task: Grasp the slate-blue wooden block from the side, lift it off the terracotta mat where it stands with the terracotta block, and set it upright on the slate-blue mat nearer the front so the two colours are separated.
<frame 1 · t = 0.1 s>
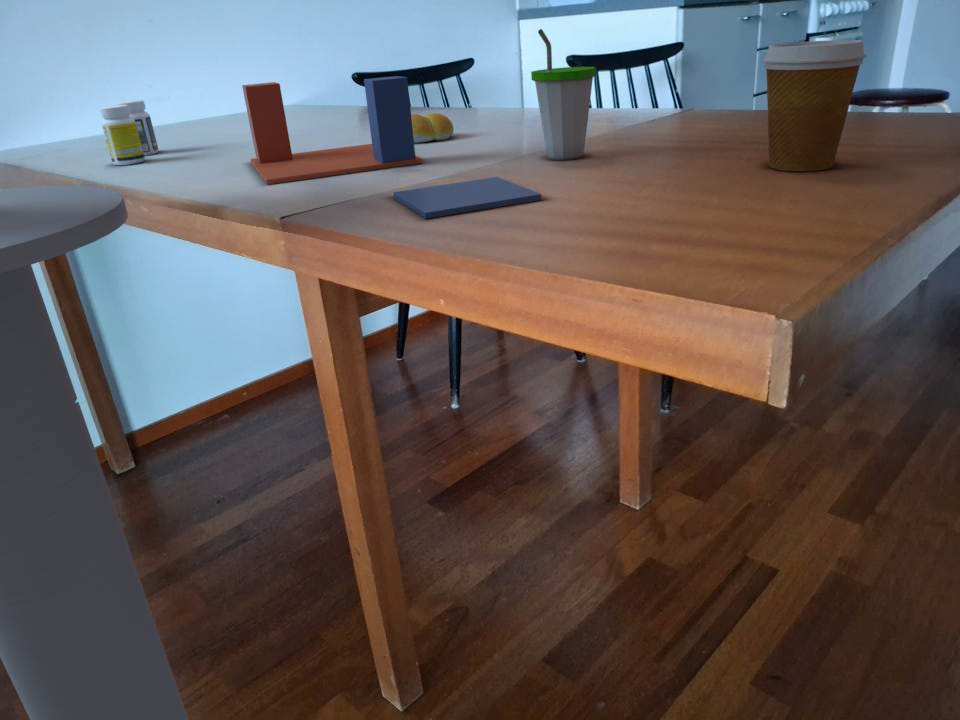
cup: (565, 158, 92), on the table
bread roll: (424, 140, 114), on the table
blue mat: (464, 198, 74), on the table
blue block: (394, 158, 96), point 1 cm above the table, touching red mat
disposable coffee cup: (800, 167, 77), on the table
supplement bottle: (129, 164, 113), on the table
red block: (274, 159, 102), point 1 cm above the table, touching red mat
pill bottle: (144, 155, 122), on the table
red mat: (332, 163, 100), on the table
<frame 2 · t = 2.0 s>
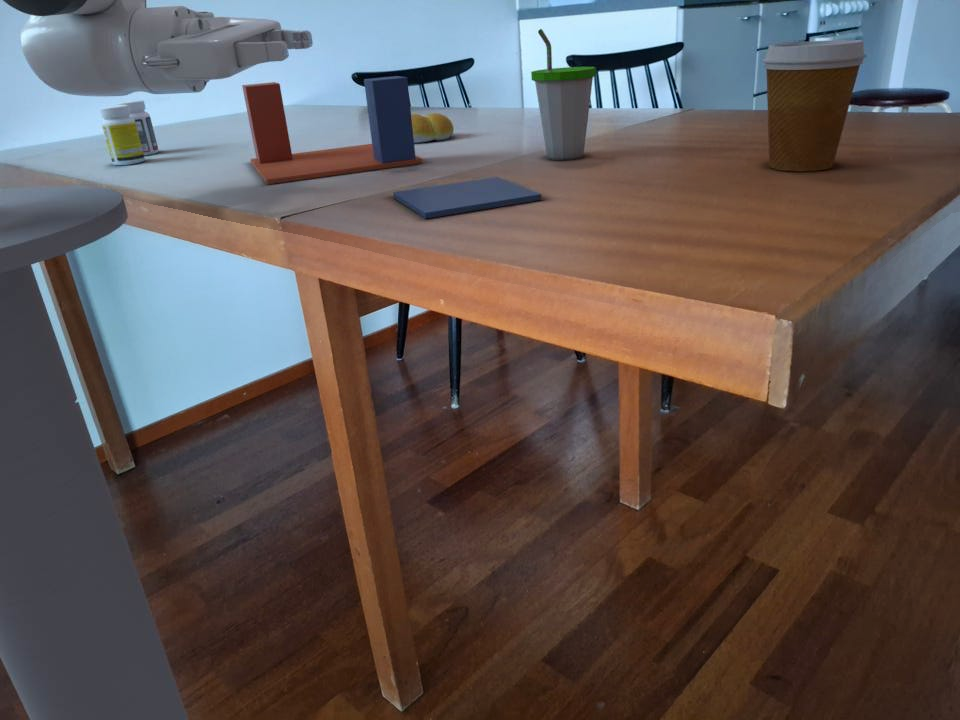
hand: (298, 44, 79), 15 cm above the table, tool horizontal, fingers open, 8 cm apart
nothing on the table moved.
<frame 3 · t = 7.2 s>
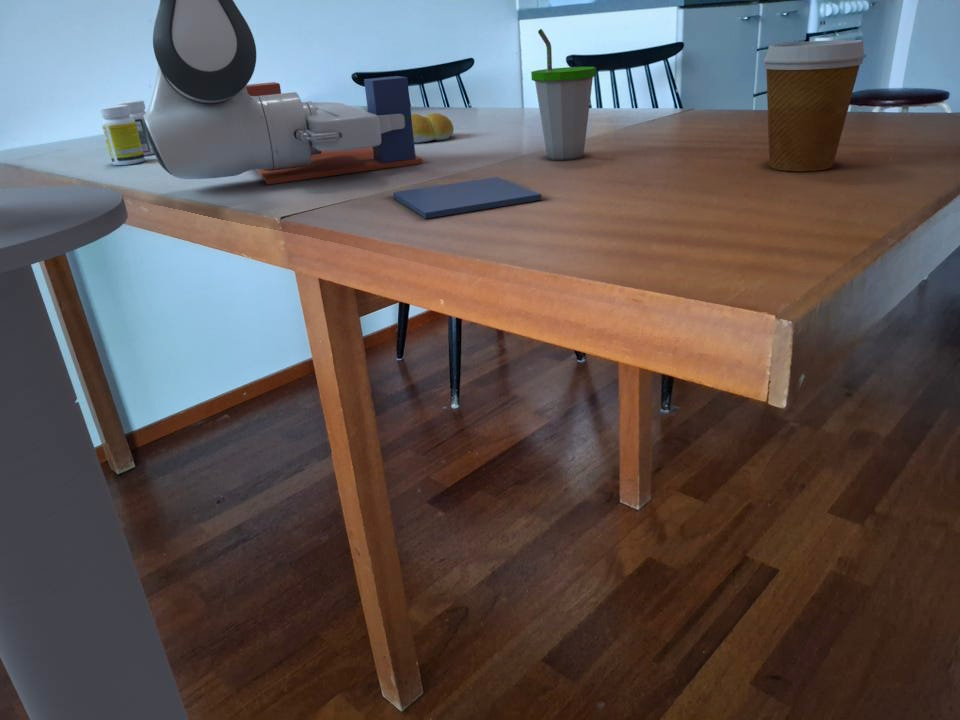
hand: (396, 118, 94), 6 cm above the table, tool horizontal, fingers closed on blue block, 4 cm apart
blue block: (394, 159, 96), point 1 cm above the table, touching gripper, red mat
everything else where it was.
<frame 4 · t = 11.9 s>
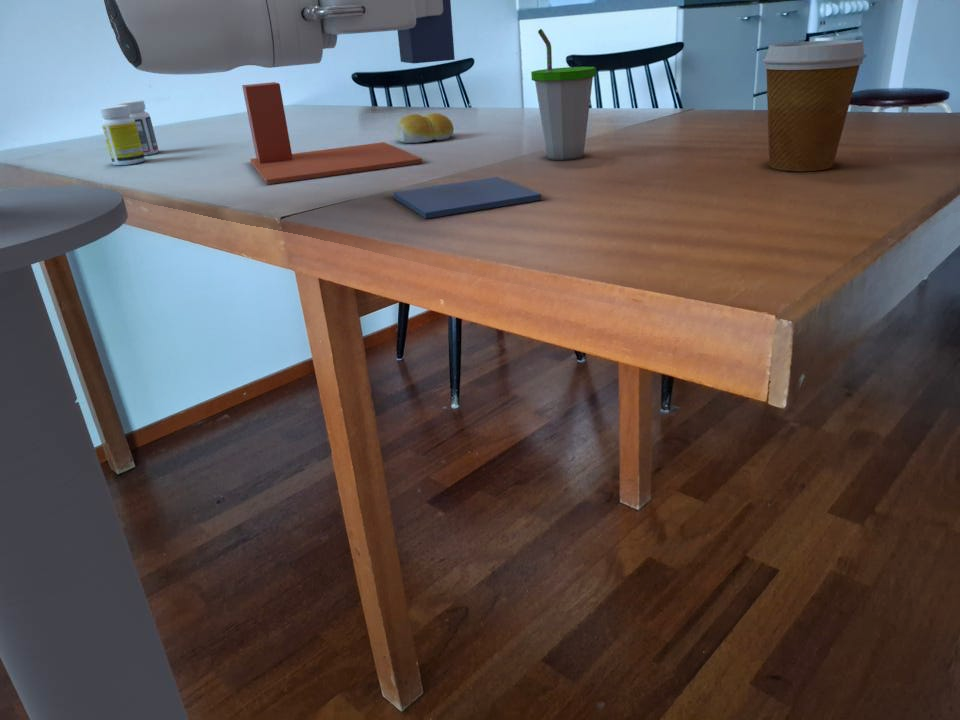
hand: (431, 5, 73), 18 cm above the table, tool horizontal, fingers closed on blue block, 4 cm apart
blue block: (427, 60, 75), point 13 cm above the table, touching gripper
everything else where it was.
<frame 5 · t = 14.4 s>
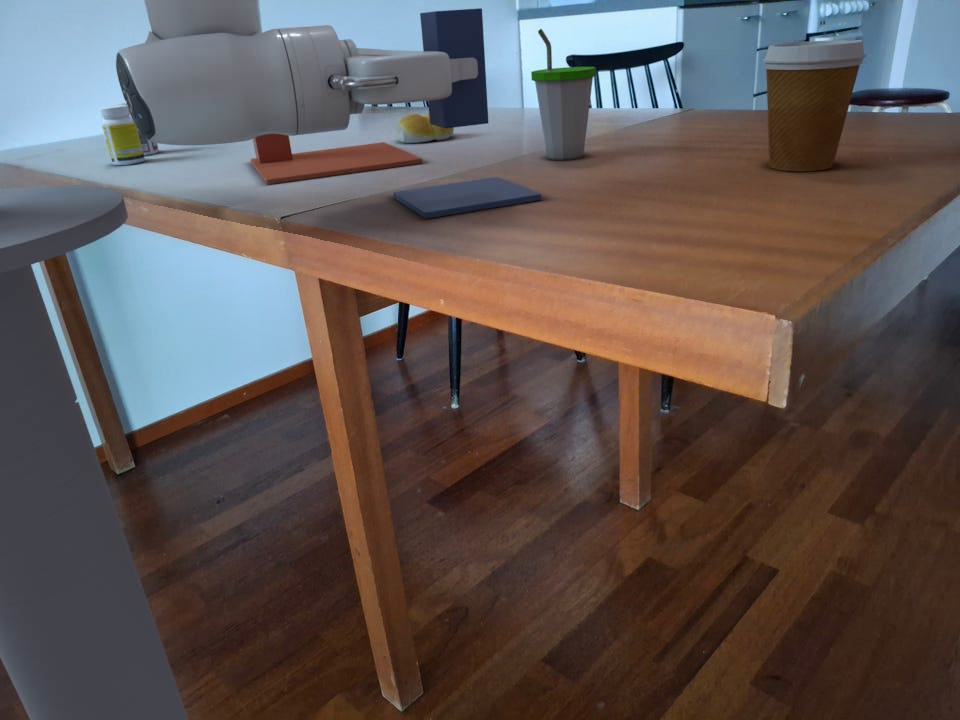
hand: (463, 66, 69), 12 cm above the table, tool horizontal, fingers closed on blue block, 4 cm apart
blue block: (458, 123, 71), point 7 cm above the table, touching gripper
everything else where it was.
when the fingers open (6 cm above the table, at t = 16.6 s): blue block stays where it is, resting on blue mat.
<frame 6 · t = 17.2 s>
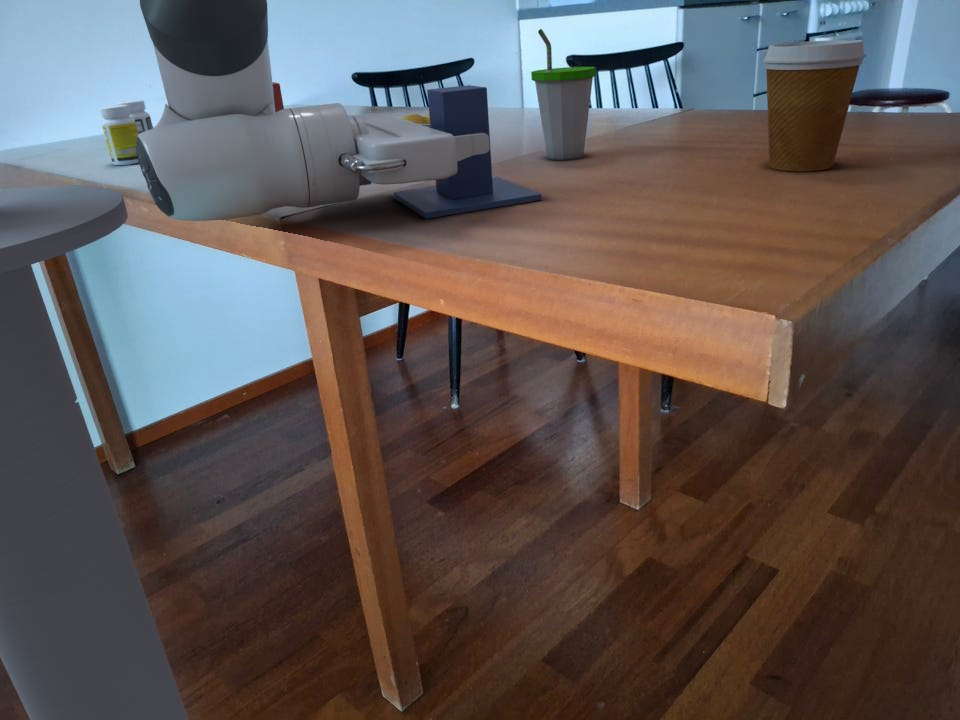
hand: (468, 136, 71), 6 cm above the table, tool horizontal, fingers open, 8 cm apart
blue block: (464, 192, 74), point 1 cm above the table, touching blue mat
everything else where it was.
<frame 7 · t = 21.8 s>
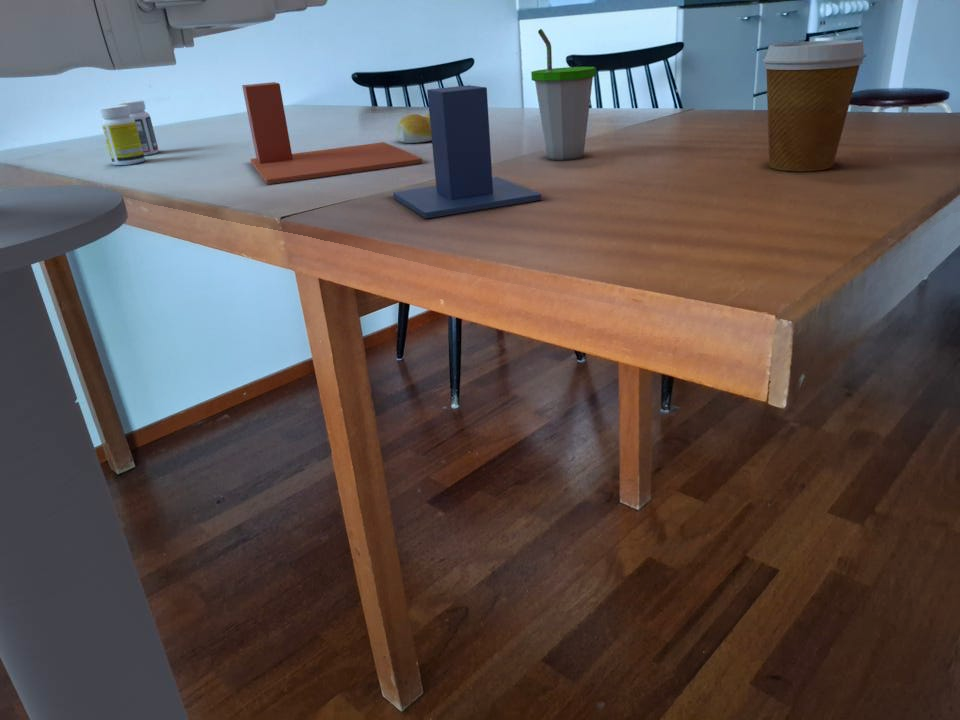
nothing on the table moved.
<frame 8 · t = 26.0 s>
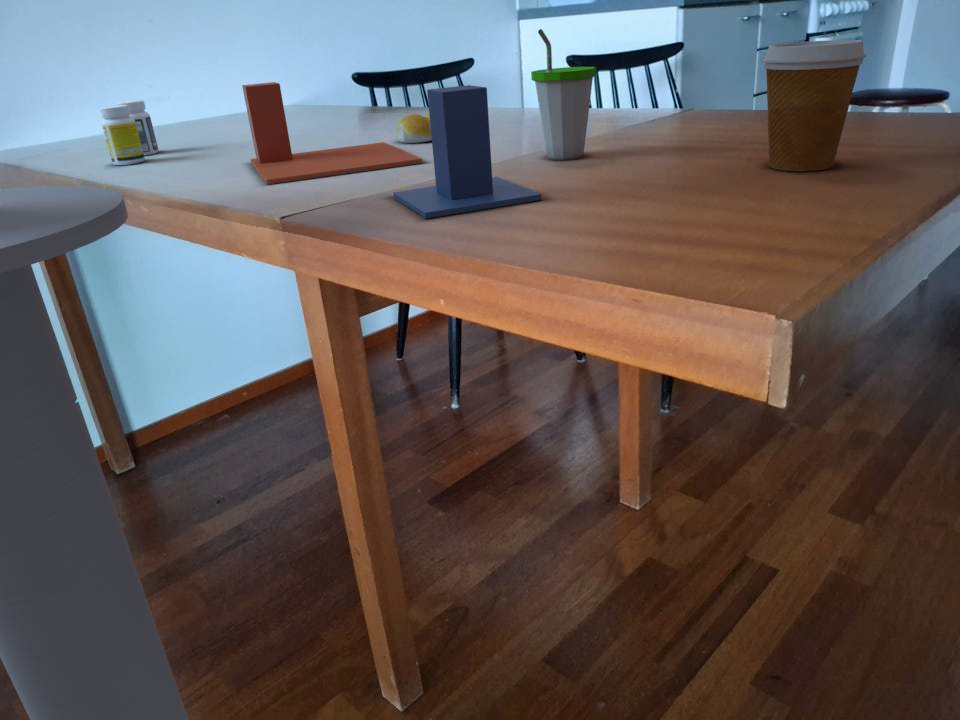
nothing on the table moved.
at the end: blue block inside the target area on the blue mat (0.1 cm from its centre), point 0.6 cm above the blue mat's base; blue block tilted 0°; red block inside the target area on the red mat (9.2 cm from its centre), point 0.6 cm above the red mat's base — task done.
